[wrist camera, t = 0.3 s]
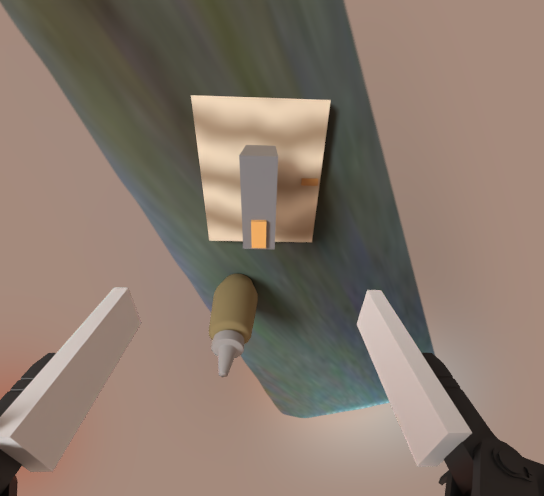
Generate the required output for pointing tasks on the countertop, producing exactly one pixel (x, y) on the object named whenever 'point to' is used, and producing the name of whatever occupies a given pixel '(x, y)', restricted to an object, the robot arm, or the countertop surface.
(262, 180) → the grey block
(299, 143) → the base
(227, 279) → the squeeze bottle
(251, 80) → the countertop surface
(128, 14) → the countertop surface
